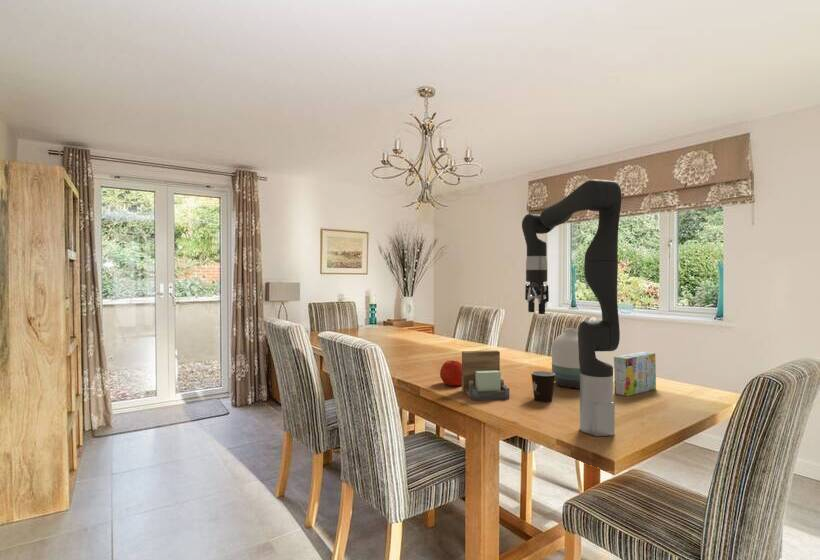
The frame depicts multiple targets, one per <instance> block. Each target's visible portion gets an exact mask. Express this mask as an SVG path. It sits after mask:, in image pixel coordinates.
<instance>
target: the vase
mask: <svg viewBox="0 0 820 560" xmlns="http://www.w3.org/2000/svg"><path fill="white" fill-rule="evenodd" d="M551 372H552V373H555V380H554V383H556V384H557V385H559V386H561V387H567V388H573V389H575V388H576V389H580V364H579V348H578V328H572V327H571V328H564V331H563V333H561V334H560V335H558V336H556V338H555V339H554V340H553V343H552V346H551Z"/></svg>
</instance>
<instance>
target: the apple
mask: <svg viewBox="0 0 820 560" xmlns="http://www.w3.org/2000/svg"><path fill="white" fill-rule="evenodd" d="M439 377H440V379H441V381H442V382H443V383H444V384H445V385H447V386H450V387H460V386H462V362H460V361H458V360H447V361H445V362H444V363H443V364H442V366H441V368H440V371H439Z"/></svg>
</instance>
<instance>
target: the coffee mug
mask: <svg viewBox="0 0 820 560" xmlns="http://www.w3.org/2000/svg"><path fill="white" fill-rule="evenodd" d="M554 380H555V373H552V371H547V370H534V371H531V381H532V382H531V383H532V390H533V399H534V401H535V400H536V402H538V401H539V402H540V403H551V402H552V401H553V395H554V386H555V381H554Z"/></svg>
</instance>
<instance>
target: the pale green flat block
mask: <svg viewBox="0 0 820 560" xmlns="http://www.w3.org/2000/svg"><path fill="white" fill-rule="evenodd" d="M501 376H502V374H501V371H498V370H496V371H476V389H478V392H481V391H501V379H502V377H501Z"/></svg>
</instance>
